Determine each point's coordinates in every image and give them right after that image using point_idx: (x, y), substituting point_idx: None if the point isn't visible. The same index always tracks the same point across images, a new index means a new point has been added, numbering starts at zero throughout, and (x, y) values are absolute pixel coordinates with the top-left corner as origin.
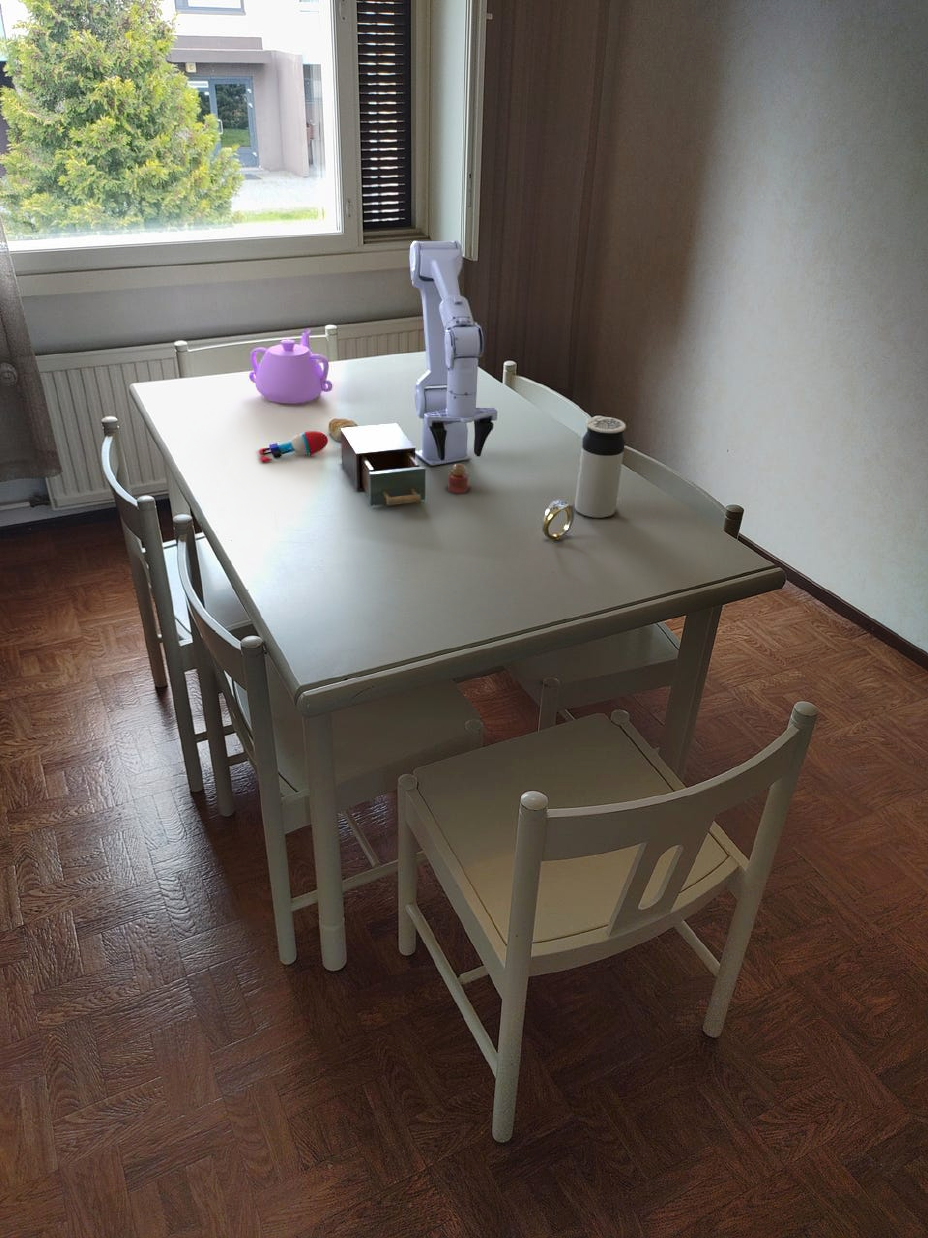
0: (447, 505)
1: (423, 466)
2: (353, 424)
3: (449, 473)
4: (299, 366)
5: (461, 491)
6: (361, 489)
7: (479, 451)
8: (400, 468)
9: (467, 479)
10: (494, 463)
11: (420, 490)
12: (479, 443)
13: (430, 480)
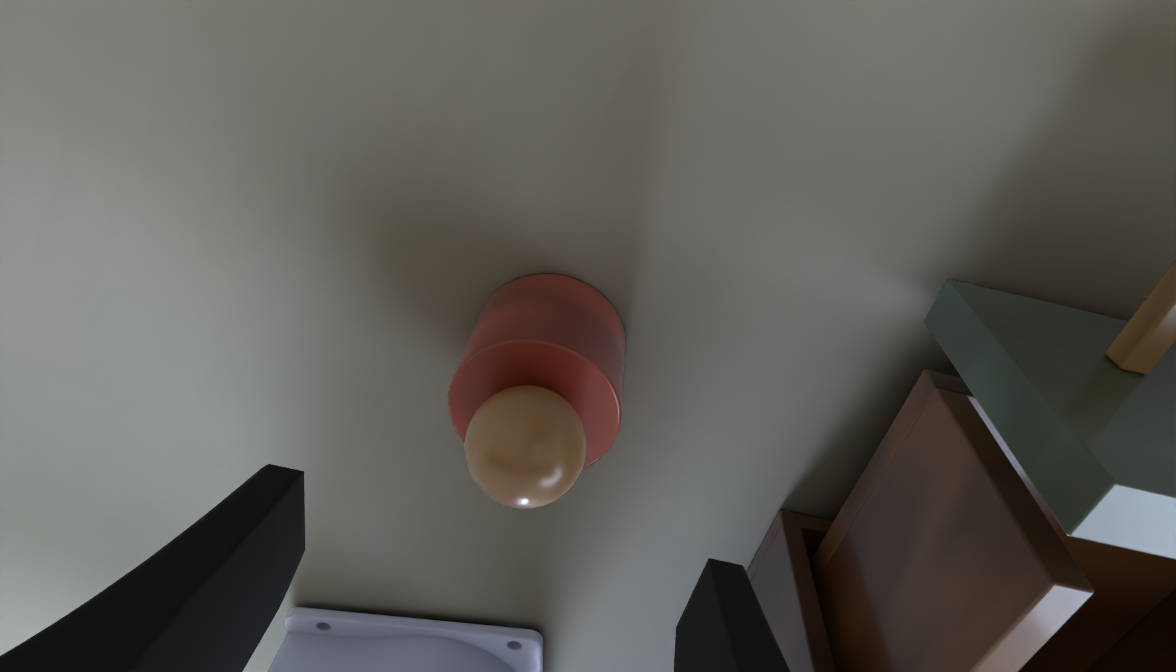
0: (802, 142)
1: (1075, 533)
2: None
3: (589, 463)
4: None
5: (562, 280)
6: None
7: (252, 507)
8: None
9: (483, 337)
10: (149, 513)
11: (1032, 334)
12: (193, 606)
13: (646, 513)
